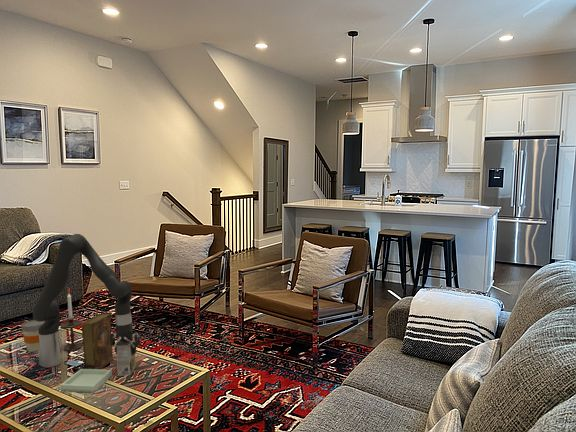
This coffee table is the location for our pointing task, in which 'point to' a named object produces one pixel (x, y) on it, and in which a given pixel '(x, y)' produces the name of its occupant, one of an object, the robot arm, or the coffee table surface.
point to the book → (97, 342)
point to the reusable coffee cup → (31, 334)
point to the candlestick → (71, 327)
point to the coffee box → (125, 358)
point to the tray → (86, 380)
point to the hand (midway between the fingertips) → (125, 353)
